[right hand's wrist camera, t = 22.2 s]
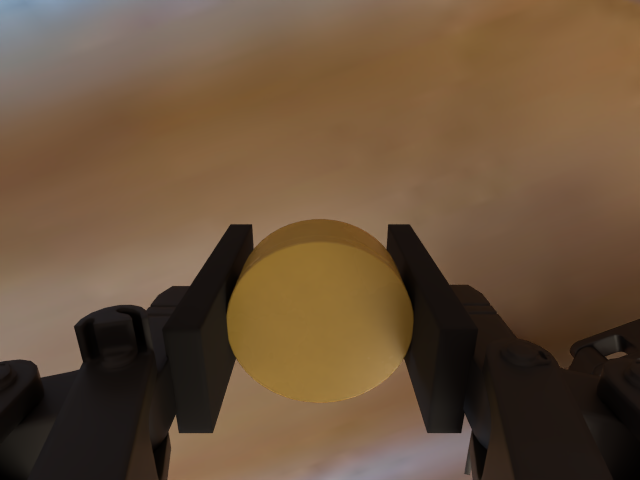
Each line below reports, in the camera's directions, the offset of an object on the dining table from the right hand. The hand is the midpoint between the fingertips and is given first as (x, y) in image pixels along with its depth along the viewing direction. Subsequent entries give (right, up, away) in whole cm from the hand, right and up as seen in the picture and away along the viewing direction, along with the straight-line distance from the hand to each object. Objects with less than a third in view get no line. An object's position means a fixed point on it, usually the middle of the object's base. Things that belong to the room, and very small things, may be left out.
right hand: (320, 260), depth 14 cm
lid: (0, -1, -4) cm, 4 cm away
